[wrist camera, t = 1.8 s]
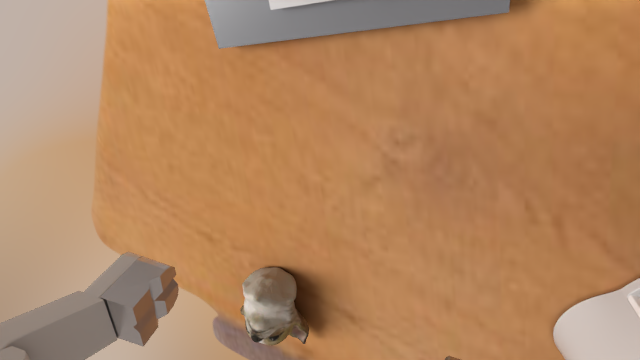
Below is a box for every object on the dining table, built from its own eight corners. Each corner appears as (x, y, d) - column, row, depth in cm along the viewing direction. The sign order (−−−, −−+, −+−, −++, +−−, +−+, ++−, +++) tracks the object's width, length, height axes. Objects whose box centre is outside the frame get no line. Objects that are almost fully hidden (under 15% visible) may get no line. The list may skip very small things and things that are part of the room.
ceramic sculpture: (292, 322, 42) (295, 382, 51) (315, 265, 48) (314, 327, 57) (209, 297, 44) (227, 359, 53) (242, 246, 51) (253, 309, 60)
